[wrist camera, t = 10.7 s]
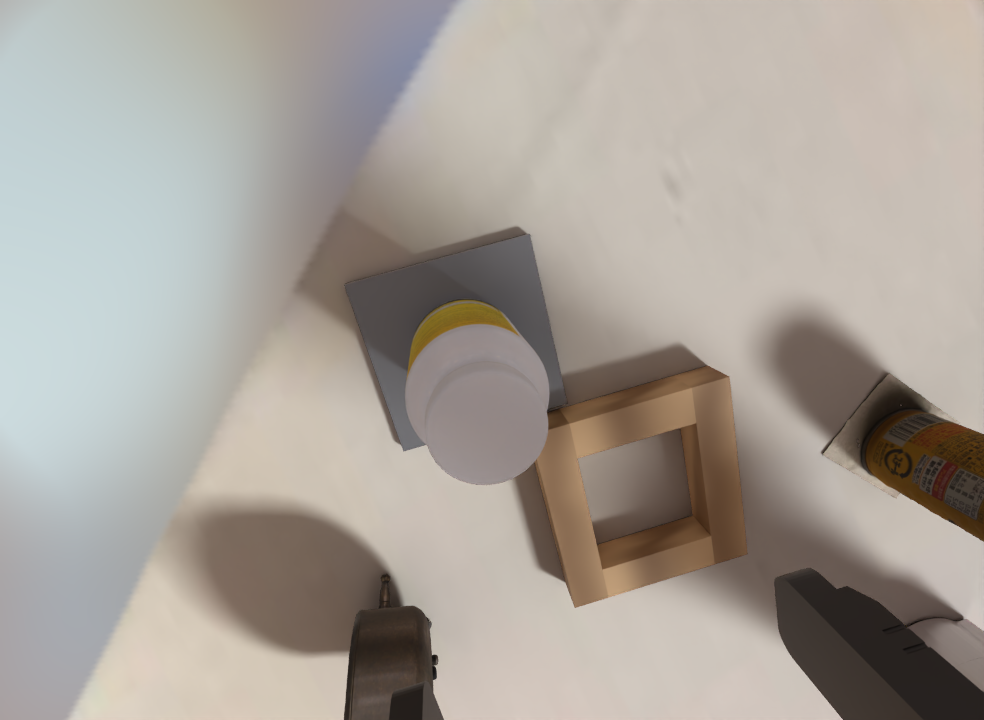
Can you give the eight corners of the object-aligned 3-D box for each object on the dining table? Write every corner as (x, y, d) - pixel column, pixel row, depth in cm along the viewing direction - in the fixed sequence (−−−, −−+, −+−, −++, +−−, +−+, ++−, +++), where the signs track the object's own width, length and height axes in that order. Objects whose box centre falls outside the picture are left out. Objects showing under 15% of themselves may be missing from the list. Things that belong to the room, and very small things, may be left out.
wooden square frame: (707, 365, 31) (729, 376, 29) (727, 532, 36) (747, 553, 33) (523, 419, 31) (530, 435, 29) (565, 582, 35) (574, 607, 33)
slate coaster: (527, 233, 27) (529, 234, 27) (564, 400, 31) (567, 403, 30) (345, 283, 27) (344, 284, 26) (404, 446, 30) (403, 451, 30)
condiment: (893, 496, 37) (1100, 620, 25) (820, 453, 35) (1010, 566, 23) (956, 421, 36) (1205, 516, 24) (885, 371, 33) (1120, 449, 22)
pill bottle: (393, 322, 27) (367, 389, 16) (494, 279, 27) (537, 317, 16) (438, 414, 29) (442, 531, 18) (532, 374, 29) (593, 466, 18)
